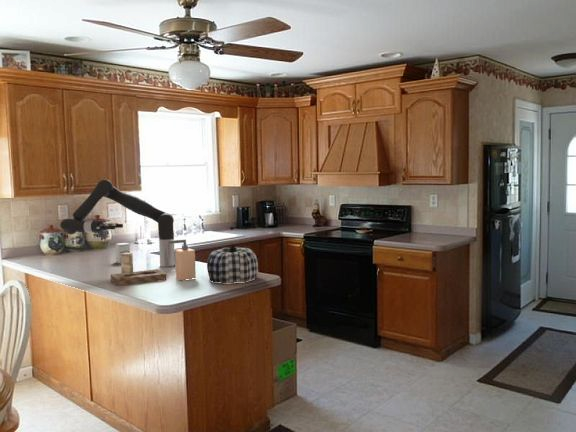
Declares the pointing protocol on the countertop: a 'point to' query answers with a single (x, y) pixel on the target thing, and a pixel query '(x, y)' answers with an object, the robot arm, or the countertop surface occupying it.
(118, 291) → the countertop surface
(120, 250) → the supplement box
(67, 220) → the robot arm
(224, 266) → the decorative pumpkin
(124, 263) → the birch peg
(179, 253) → the soap dispenser
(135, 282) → the walnut keyhole board
